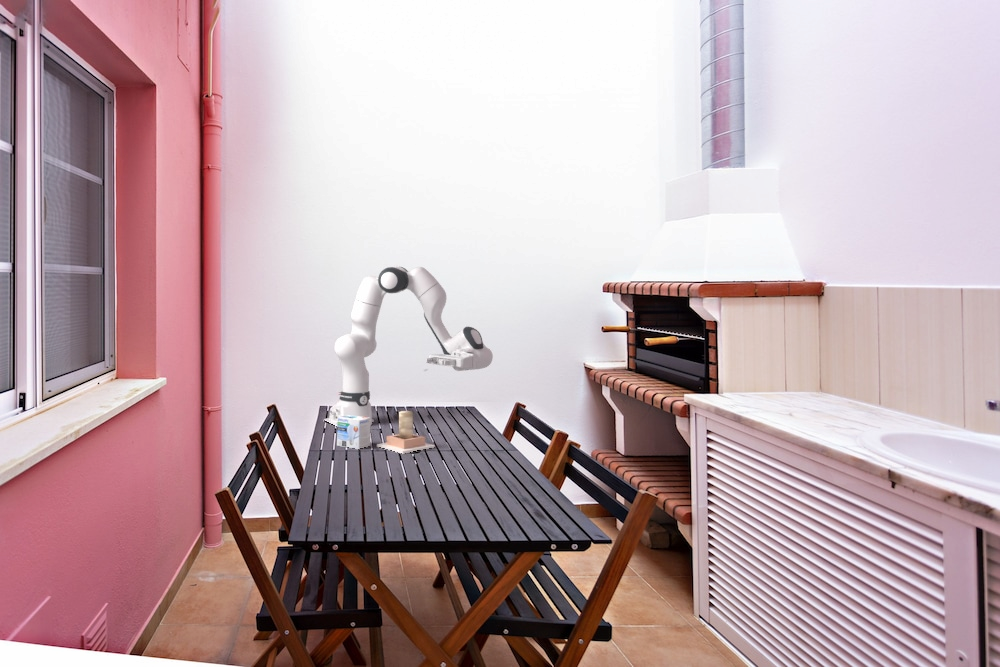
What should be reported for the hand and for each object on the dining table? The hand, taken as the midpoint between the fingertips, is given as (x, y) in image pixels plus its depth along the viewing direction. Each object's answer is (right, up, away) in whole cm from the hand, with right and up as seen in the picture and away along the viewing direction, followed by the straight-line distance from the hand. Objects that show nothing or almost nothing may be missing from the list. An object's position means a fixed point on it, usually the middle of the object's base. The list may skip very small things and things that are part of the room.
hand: (435, 361), depth 277 cm
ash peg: (-9, -30, -16) cm, 35 cm away
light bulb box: (-28, -31, -16) cm, 45 cm away
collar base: (-9, -31, -16) cm, 36 cm away
